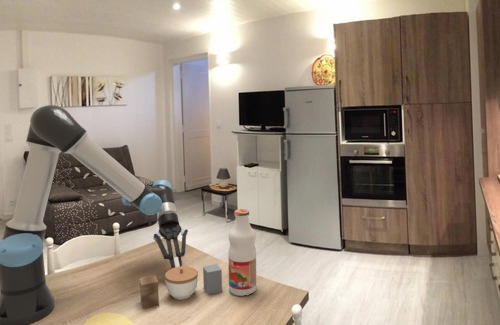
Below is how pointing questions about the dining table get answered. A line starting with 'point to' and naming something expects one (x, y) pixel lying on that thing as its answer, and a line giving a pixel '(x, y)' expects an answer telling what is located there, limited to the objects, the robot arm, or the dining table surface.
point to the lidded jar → (181, 281)
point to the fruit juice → (242, 255)
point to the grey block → (212, 279)
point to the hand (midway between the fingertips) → (178, 275)
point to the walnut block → (149, 292)
